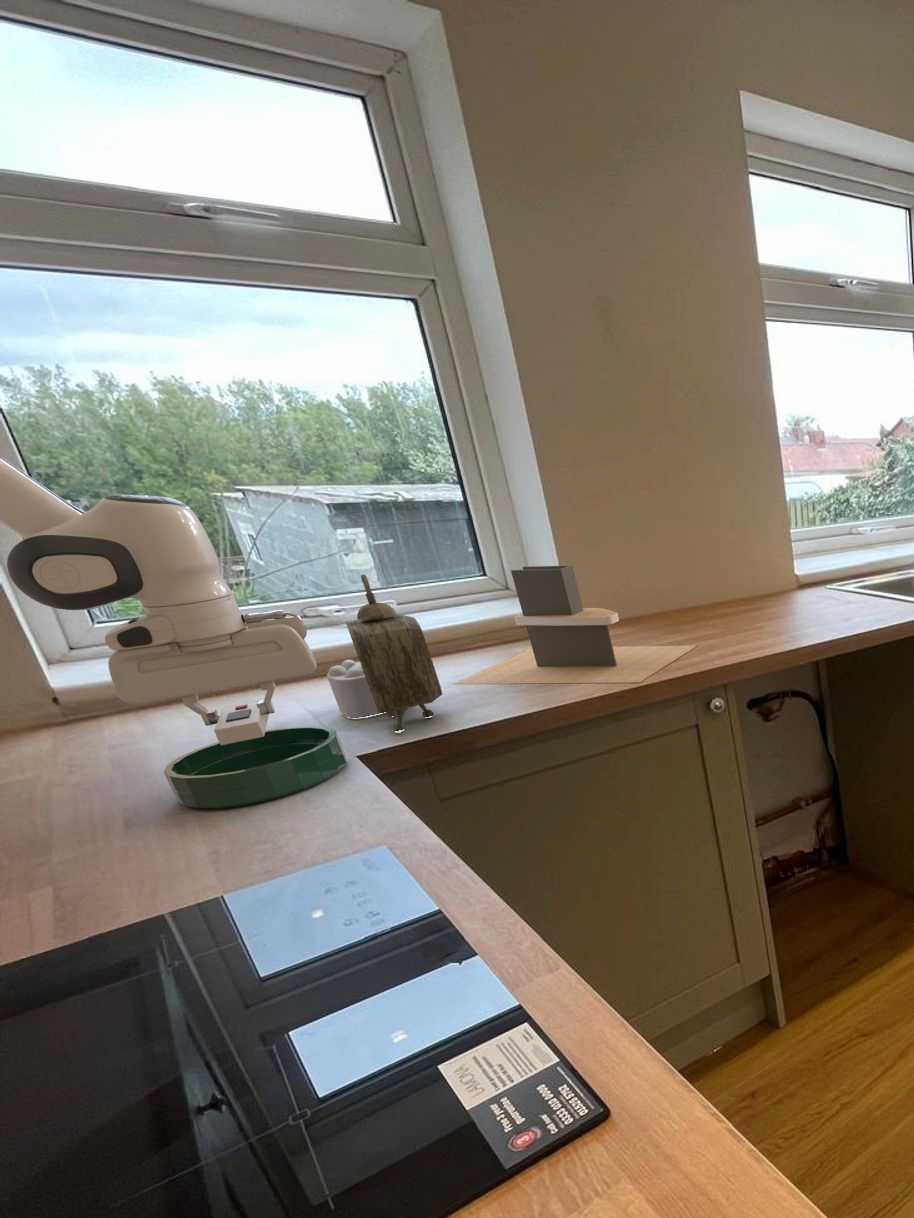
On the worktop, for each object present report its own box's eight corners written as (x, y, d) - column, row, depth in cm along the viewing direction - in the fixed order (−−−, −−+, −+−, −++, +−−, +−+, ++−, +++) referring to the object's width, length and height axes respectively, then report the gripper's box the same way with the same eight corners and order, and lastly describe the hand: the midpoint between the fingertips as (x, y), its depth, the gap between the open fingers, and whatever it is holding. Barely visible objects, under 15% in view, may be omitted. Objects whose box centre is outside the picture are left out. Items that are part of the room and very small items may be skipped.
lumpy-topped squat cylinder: (351, 722, 139) (333, 674, 135) (332, 707, 147) (315, 661, 143) (421, 705, 146) (405, 659, 142) (399, 692, 154) (384, 648, 150)
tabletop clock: (380, 717, 141) (328, 573, 131) (440, 705, 146) (395, 565, 136) (388, 740, 130) (332, 585, 120) (453, 725, 136) (405, 575, 126)
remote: (264, 736, 110) (257, 719, 109) (220, 745, 108) (212, 728, 107) (269, 714, 119) (262, 698, 118) (228, 721, 117) (221, 705, 116)
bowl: (171, 825, 105) (154, 790, 103) (189, 780, 118) (174, 748, 116) (348, 783, 115) (336, 751, 113) (346, 746, 128) (335, 716, 127)
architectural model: (697, 645, 177) (679, 554, 169) (639, 682, 154) (616, 578, 146) (533, 647, 181) (508, 558, 173) (452, 683, 157) (420, 582, 150)
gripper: (298, 603, 115) (333, 695, 121) (96, 631, 104) (145, 730, 110) (296, 611, 111) (333, 705, 116) (86, 640, 99) (137, 744, 105)
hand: (241, 718), depth 113 cm, fingers closed on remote, 4 cm apart
